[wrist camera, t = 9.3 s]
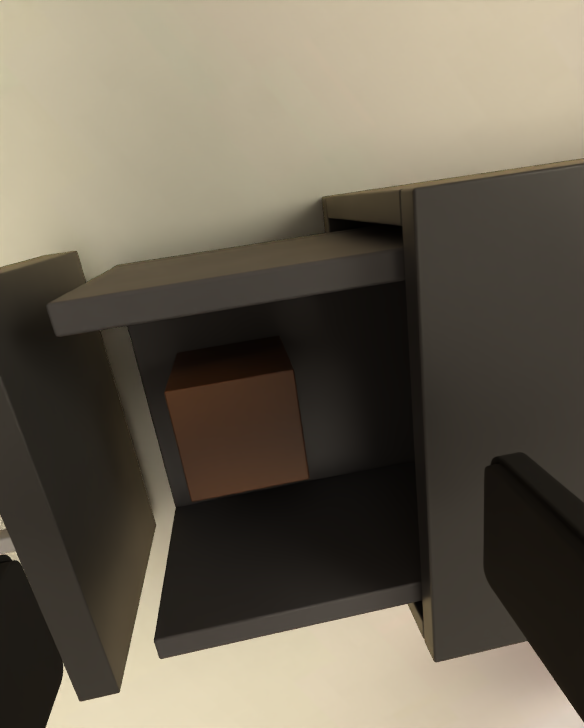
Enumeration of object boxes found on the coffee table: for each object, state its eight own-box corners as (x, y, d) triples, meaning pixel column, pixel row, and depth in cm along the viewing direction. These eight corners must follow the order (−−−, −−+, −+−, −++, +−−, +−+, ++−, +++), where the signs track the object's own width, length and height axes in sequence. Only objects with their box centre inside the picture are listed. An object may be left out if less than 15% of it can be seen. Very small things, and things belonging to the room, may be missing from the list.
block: (176, 352, 18) (163, 392, 14) (279, 335, 18) (294, 369, 14) (198, 444, 19) (190, 503, 15) (293, 426, 19) (310, 479, 16)
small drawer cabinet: (352, 485, 23) (434, 664, 14) (321, 196, 18) (412, 187, 9) (640, 427, 24) (885, 557, 15) (678, 144, 20) (1059, 92, 11)
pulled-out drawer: (21, 552, 21) (-91, 741, 13) (-95, 276, 16) (-350, 331, 9) (434, 469, 22) (536, 598, 15) (423, 198, 18) (559, 193, 11)
